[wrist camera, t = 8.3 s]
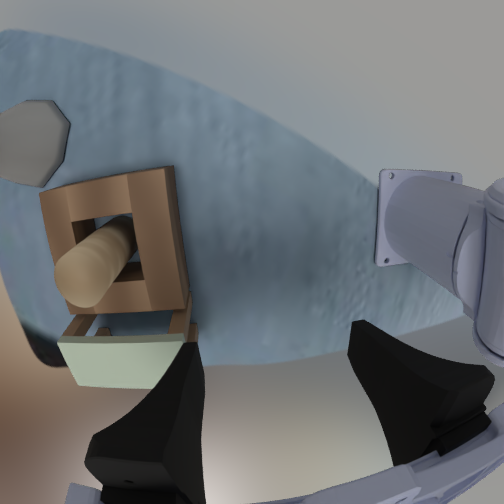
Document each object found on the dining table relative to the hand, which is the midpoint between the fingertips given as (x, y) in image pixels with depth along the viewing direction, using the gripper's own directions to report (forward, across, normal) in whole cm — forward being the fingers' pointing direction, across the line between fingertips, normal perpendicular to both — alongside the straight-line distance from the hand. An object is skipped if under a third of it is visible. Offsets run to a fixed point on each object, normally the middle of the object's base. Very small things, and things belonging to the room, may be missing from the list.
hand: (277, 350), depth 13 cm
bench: (+10, +10, +4) cm, 14 cm away
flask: (+10, +16, -12) cm, 23 cm away
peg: (+10, +10, -4) cm, 14 cm away
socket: (+10, +10, -4) cm, 14 cm away
